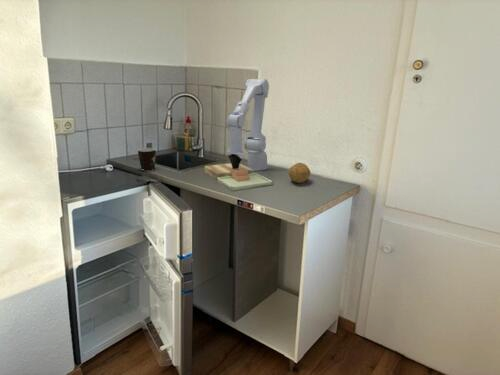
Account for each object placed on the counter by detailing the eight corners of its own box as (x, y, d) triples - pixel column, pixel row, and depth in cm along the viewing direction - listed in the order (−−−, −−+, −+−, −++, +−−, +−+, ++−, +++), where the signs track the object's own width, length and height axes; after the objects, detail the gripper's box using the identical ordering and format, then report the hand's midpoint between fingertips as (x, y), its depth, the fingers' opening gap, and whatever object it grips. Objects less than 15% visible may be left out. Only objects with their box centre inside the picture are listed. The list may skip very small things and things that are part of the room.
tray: (255, 176, 182) (255, 172, 181) (273, 184, 168) (273, 181, 168) (216, 181, 173) (216, 177, 172) (231, 190, 159) (231, 187, 159)
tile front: (243, 176, 177) (243, 172, 176) (249, 180, 172) (249, 175, 171) (231, 178, 174) (231, 174, 174) (237, 181, 169) (237, 177, 169)
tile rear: (242, 171, 178) (242, 167, 177) (248, 175, 173) (248, 170, 172) (230, 173, 175) (230, 169, 175) (236, 176, 170) (236, 172, 170)
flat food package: (237, 168, 196) (237, 162, 195) (252, 175, 182) (252, 169, 181) (204, 172, 187) (204, 166, 186) (217, 180, 174) (217, 173, 173)
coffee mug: (149, 166, 196) (147, 147, 194) (160, 169, 192) (159, 149, 189) (130, 170, 187) (128, 150, 184) (141, 173, 183) (140, 153, 180)
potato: (285, 185, 168) (286, 167, 166) (290, 177, 181) (291, 160, 179) (307, 187, 166) (309, 169, 163) (311, 178, 179) (312, 162, 176)
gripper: (220, 139, 177) (221, 167, 181) (234, 144, 165) (234, 175, 169) (234, 138, 181) (234, 166, 185) (249, 143, 168) (248, 173, 172)
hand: (235, 170), depth 177 cm, fingers closed
